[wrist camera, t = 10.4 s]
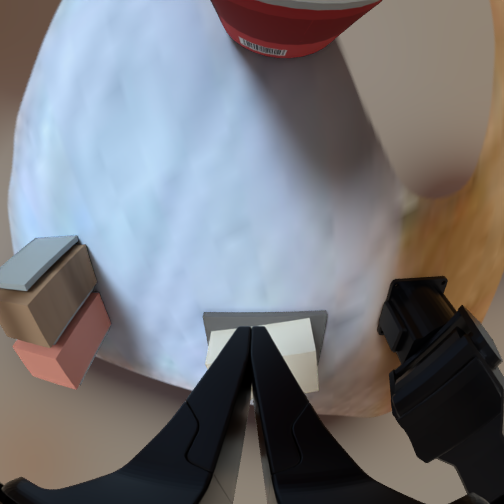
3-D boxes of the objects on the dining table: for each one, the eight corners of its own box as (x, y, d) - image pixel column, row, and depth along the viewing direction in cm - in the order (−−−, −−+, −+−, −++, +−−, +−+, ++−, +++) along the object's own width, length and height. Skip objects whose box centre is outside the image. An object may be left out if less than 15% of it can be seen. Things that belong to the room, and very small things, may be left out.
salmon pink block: (99, 292, 25) (55, 359, 17) (111, 323, 26) (76, 389, 18) (56, 289, 25) (12, 346, 17) (69, 318, 27) (32, 375, 19)
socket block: (76, 235, 22) (24, 285, 15) (109, 328, 27) (80, 385, 20) (35, 238, 22) (-15, 281, 15) (69, 323, 27) (38, 372, 20)
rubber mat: (326, 310, 25) (327, 314, 24) (316, 366, 28) (316, 370, 28) (203, 312, 25) (202, 316, 25) (214, 367, 29) (213, 371, 28)
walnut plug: (85, 244, 22) (27, 305, 14) (97, 282, 24) (50, 348, 16) (42, 246, 22) (-14, 298, 14) (54, 280, 24) (7, 336, 16)
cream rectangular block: (309, 317, 24) (315, 350, 21) (313, 359, 27) (318, 391, 24) (211, 331, 25) (205, 364, 22) (228, 370, 28) (224, 401, 25)
